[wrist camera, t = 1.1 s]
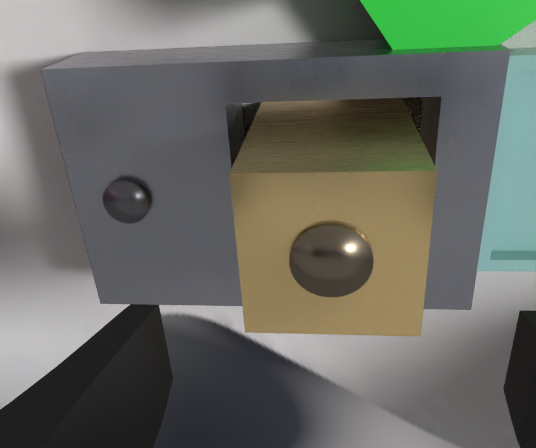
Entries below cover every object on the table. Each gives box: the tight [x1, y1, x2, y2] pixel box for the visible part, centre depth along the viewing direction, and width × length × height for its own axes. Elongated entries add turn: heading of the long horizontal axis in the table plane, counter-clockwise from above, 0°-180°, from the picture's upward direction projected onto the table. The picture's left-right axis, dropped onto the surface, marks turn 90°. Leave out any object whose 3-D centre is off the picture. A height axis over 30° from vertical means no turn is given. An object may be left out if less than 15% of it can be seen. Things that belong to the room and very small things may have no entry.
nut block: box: [229, 98, 437, 336], centre depth 17 cm, size 5×5×7 cm
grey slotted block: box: [40, 39, 511, 310], centre depth 18 cm, size 9×14×3 cm, turn 93°
